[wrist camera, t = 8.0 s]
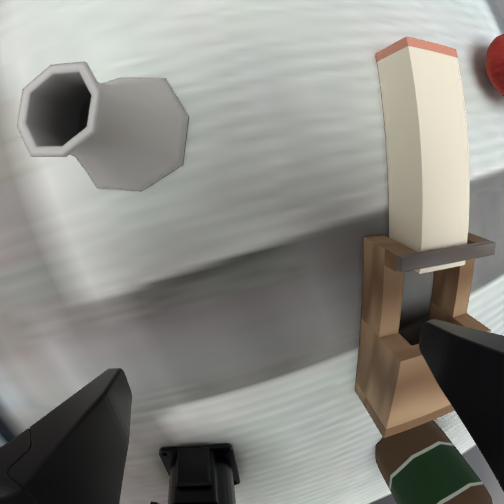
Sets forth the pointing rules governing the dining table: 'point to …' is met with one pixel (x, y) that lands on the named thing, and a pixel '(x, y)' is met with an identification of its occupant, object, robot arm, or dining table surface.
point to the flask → (105, 125)
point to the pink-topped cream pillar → (425, 146)
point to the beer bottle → (428, 469)
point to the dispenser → (387, 326)
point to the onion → (496, 63)
